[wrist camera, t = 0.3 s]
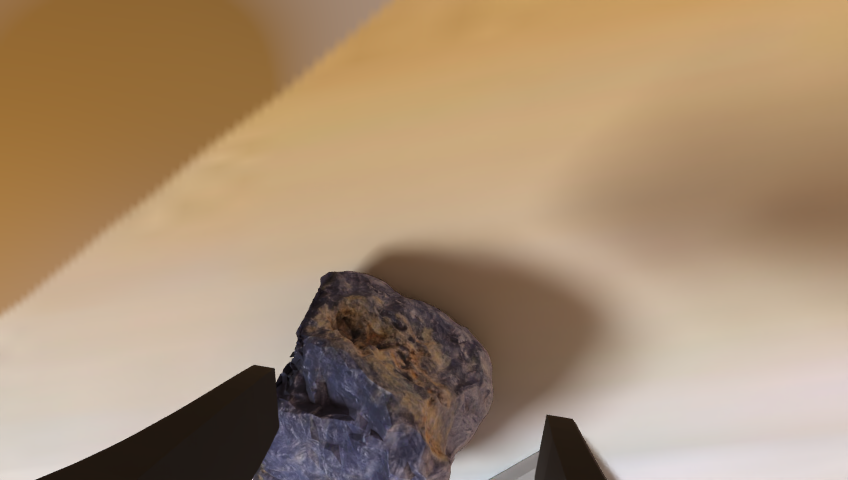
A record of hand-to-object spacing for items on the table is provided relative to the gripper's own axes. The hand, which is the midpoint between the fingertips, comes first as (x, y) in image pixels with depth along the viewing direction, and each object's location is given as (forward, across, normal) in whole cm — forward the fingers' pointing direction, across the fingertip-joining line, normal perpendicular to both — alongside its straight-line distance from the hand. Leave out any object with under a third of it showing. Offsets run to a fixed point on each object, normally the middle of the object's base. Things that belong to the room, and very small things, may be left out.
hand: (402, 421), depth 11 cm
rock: (+10, +3, +7) cm, 12 cm away
